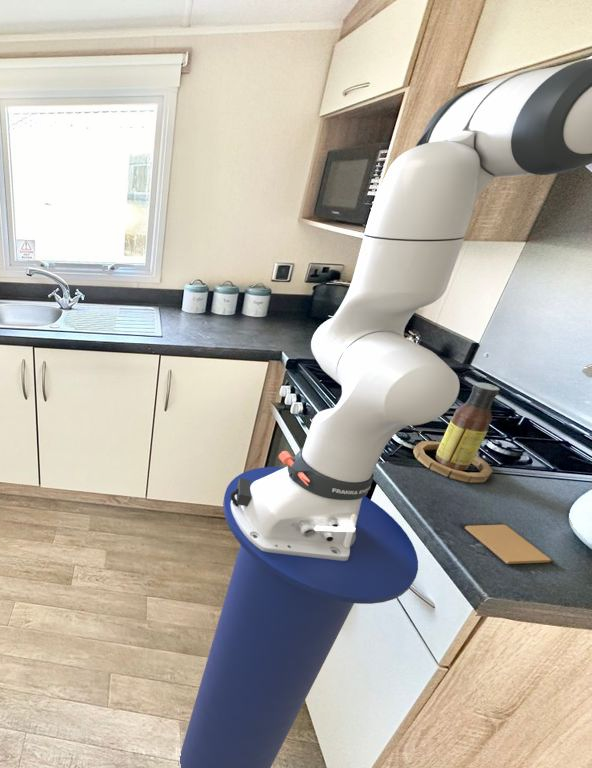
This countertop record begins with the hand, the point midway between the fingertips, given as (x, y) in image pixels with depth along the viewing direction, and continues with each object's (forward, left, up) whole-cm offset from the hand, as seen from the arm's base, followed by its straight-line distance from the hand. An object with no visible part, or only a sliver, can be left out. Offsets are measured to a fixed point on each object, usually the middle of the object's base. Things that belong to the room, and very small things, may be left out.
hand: (591, 365), depth 73 cm
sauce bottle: (-4, +10, -29) cm, 31 cm away
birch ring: (-4, +10, -29) cm, 31 cm away
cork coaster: (-15, -13, -29) cm, 35 cm away
